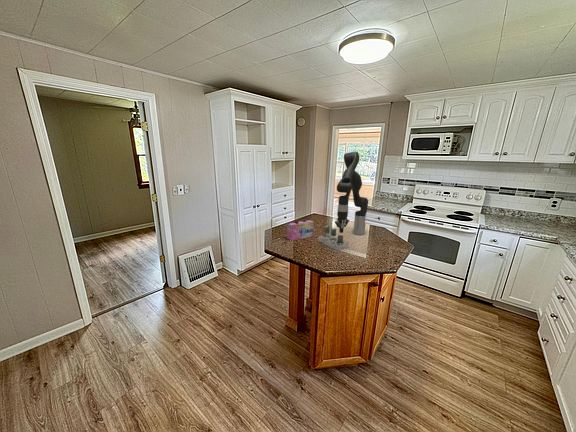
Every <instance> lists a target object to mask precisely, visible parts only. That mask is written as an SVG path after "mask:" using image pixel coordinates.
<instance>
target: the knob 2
mask: <svg viewBox="0 0 576 432" xmlns="http://www.w3.org/2000/svg"><path fill="white" fill-rule="evenodd" d="M337 238H338V241H337V242H338V243H343V240H344V236H343V235H342V234H338V235H337Z"/></svg>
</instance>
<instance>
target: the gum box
mask: <svg viewBox="0 0 576 432" xmlns="http://www.w3.org/2000/svg"><path fill="white" fill-rule="evenodd" d="M314 227H315V221H313V220H311V219H304V220H302V219H301V220H297V221H289V222H286V239H287V240H289V241H296V240H302V239H306V238H312V237H314V234H315V233H314V232H315V231H314V230H315V228H314Z"/></svg>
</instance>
